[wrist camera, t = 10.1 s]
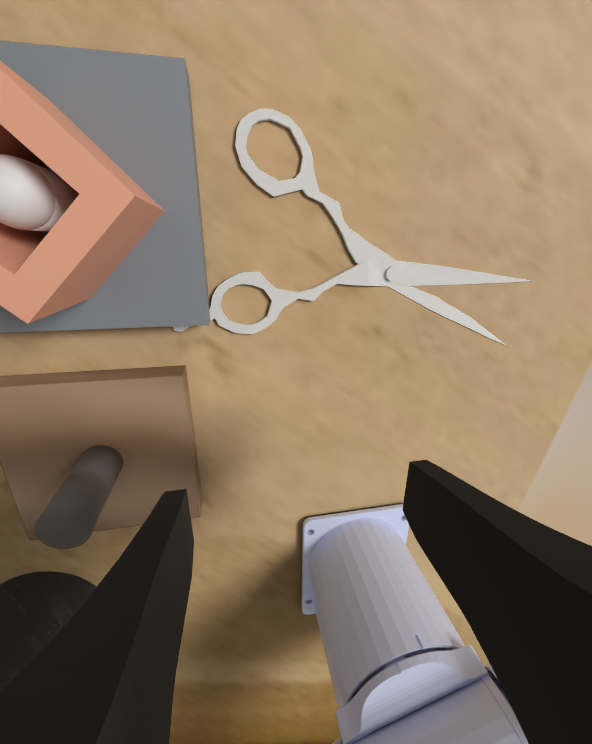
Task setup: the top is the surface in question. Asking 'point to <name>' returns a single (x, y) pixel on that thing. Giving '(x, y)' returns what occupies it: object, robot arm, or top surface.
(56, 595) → the travel mug
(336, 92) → the top surface
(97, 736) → the robot arm
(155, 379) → the stand
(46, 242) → the collar
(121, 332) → the top surface
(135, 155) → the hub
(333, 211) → the scissors
